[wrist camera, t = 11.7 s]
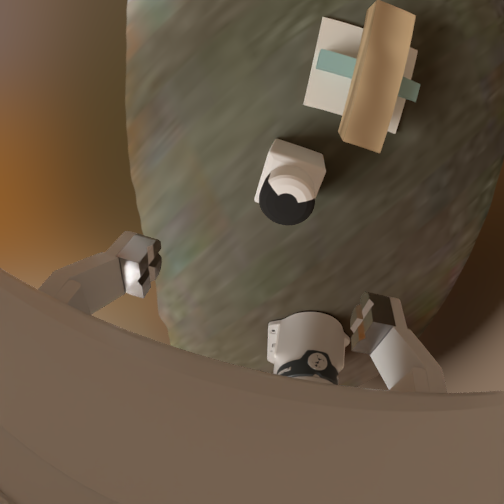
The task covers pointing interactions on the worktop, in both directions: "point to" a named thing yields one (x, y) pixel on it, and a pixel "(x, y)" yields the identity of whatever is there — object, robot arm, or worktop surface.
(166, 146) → the worktop surface
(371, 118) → the batten
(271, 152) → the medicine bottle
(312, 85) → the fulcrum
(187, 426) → the robot arm
